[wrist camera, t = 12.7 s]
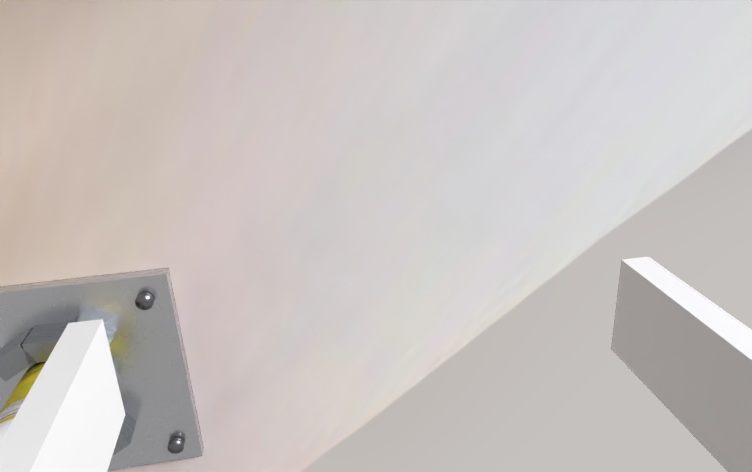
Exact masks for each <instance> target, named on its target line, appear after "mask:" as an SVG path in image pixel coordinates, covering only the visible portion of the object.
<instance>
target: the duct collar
mask: <svg viewBox="0 0 752 472" xmlns="http://www.w3.org/2000/svg"><path fill="white" fill-rule="evenodd" d="M99 319H103V322H104V327H105V331H106V335H107V339H108V343H109V348H110V352H111V356H112V360H113V364H114V369H115V373H116V377H117V381H118V385H119V390H120V394H121V398H122V402H123V406H124V411H125V417H124V420H123V424H122V427H121V430H120V433H119V436H118V439H117V442H116V446H115V449H114V452H113V455H112V458H111V461H110V464H109V467H108V470H115V469H121V468H128V467H134V466H141V465H147V464H154V463H160V462H167V461H173V460H180V459H186V458H193V457H200V456H202V455H203V448H204V447H203V442H202V437H201V432H200V427H199V422H198V417H197V412H196V407H195V401H194V396H193V391H192V386H191V381H190V376H189V371H188V366H187V361H186V356H185V350H184V345H183V340H182V335H181V330H180V325H179V320H178V315H177V310H176V304H175V299H174V294H173V289H172V284H171V279H170V274H169V269H168V268H163V269H154V270H145V271H136V272H127V273H119V274H110V275H101V276H92V277H83V278H74V279H66V280H57V281H48V282H39V283H30V284H21V285H12V286H4V287H0V412H1V410H2V409H3V407H4V406H5V404H6V402H7V401H8V399H9V398H10V396H11V394H12V393H13V391H14V390H15V388H16V386H17V385H18V383H19V381H20V380H21V378H22V377H23V375H24V374H25V372H26V371H27V370H28V369H29V367H30V366H31V365H32V364H34V363H39V362H46V361H47V360H48V358H49V356H50V354H51V353H52V351H53V349H54V347H55V346H56V344H57V342H58V340H59V339H60V337H61V335H62V333H63V332H64V330H65V328H66V326H67V325H68V323H73V322H82V321H90V320H99Z"/></svg>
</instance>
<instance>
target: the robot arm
mask: <svg viewBox="0 0 752 472" xmlns="http://www.w3.org/2000/svg"><path fill="white" fill-rule="evenodd" d="M611 349H612V350H613V352H614V353H615V354H616V355H617V356H618V357H619V358H620V359H621V360H622V361H623V362H624V363H625V364H626V365H627V366H628V367H629V368H630V369H631V370H632V371H633V373H634V374H635V375H636V376H637V377H638V378H639V379H640V380H641V381H642V382H643V383H644V384H645V385H646V386H647V387H648V388H649V389H650V390H651V391H652V392H653V394H654V395H655V396H656V397H657V398H658V399H659V400H660V401H661V402H662V403H663V404H664V405H665V406H666V407H667V408H668V409H669V410H670V411H671V412H672V414H673V415H674V416H675V417H676V418H677V419H678V420H679V421H680V422H681V423H682V424H683V425H684V426H685V427H686V428H687V429H688V430H689V431H690V433H691V434H692V435H693V436H694V437H695V438H696V439H697V440H698V441H699V442H700V443H701V444H702V445H703V446H704V447H705V448H706V449H707V450H708V451H709V452H710V453H711V455H712V456H713V457H714V458H715V459H716V460H717V461H718V462H719V463H720V464H721V465H722V466H723V467H724V468H725V469H726V470H727V471H728V472H752V330H751V329H749V328H748V327H747V326H745V325H744V324H742V323H741V322H740V321H738V320H737V319H735V318H734V317H732V316H731V315H730V314H728V313H727V312H725V311H724V310H723V309H721V308H720V307H718V306H717V305H716V304H714V303H713V302H711V301H710V300H709V299H707V298H706V297H704V296H703V295H702V294H700V293H699V292H697V291H696V290H695V289H693V288H692V287H690V286H689V285H687V284H686V283H684V282H683V281H682V280H680V279H679V278H678V277H676V276H675V275H673V274H672V273H671V272H669V271H668V270H666V269H665V268H663V267H662V266H661V265H659V264H658V263H657V262H655V261H654V260H652V259H651V258H649V257H642V258H633V259H624V260H621V269H620V277H619V286H618V295H617V303H616V311H615V320H614V329H613V337H612V345H611ZM124 417H125V411H124V406H123V402H122V398H121V394H120V390H119V385H118V381H117V377H116V373H115V369H114V364H113V360H112V356H111V352H110V348H109V343H108V339H107V335H106V331H105V327H104V322H103V319H99V320H90V321H82V322H73V323H68V325H67V326H66V328H65V330H64V332H63V333H62V335H61V337H60V339H59V340H58V342H57V344H56V346H55V347H54V349H53V351H52V353H51V354H50V356H49V358H48V360H47V361H46V363H45V365H44V367H43V368H42V370H41V372H40V374H39V375H38V377H37V379H36V381H35V382H34V384H33V386H32V388H31V389H30V391H29V393H28V395H27V396H26V398H25V400H24V402H23V403H22V405H21V407H20V409H19V410H18V412H17V414H16V416H15V417H14V419H13V421H12V423H11V424H10V426H9V428H8V430H7V431H6V433H5V435H4V436H3V438H2V440H1V442H0V472H107V471H108V467H109V464H110V461H111V458H112V455H113V452H114V449H115V446H116V442H117V439H118V436H119V433H120V430H121V427H122V424H123V420H124Z"/></svg>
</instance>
